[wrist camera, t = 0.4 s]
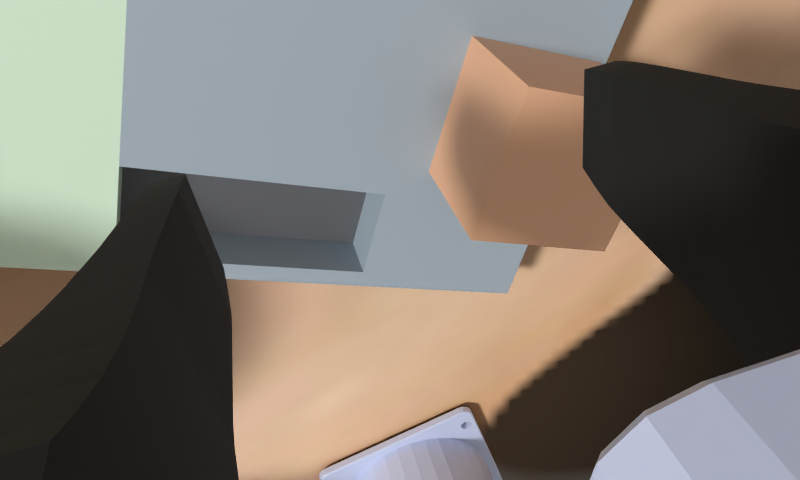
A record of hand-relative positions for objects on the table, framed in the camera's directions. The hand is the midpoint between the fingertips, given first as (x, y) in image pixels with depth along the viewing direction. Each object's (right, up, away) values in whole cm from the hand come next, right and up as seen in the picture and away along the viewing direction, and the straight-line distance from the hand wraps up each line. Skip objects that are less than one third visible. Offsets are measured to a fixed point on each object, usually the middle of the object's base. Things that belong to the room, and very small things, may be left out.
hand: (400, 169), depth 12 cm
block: (+4, +3, +9) cm, 10 cm away
